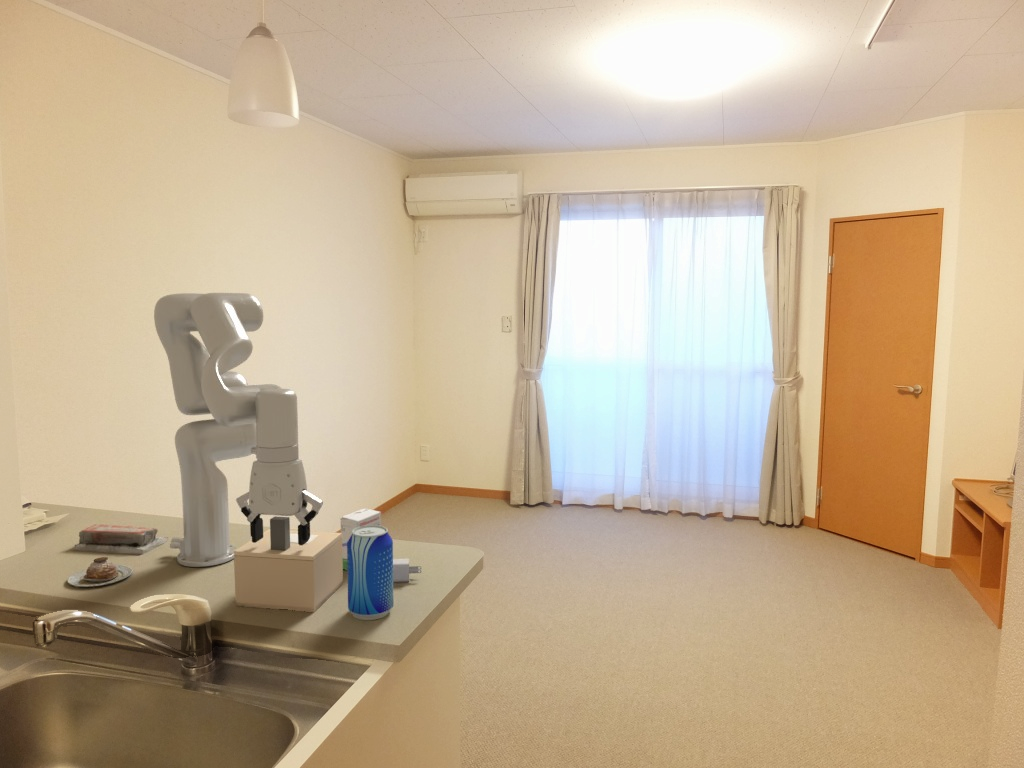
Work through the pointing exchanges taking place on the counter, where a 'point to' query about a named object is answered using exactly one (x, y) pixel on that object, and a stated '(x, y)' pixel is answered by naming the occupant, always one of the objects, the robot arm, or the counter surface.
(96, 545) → the packaged product
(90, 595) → the counter surface
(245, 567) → the carton
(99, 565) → the pastry
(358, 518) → the ink box
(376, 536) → the beer can
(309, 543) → the tan labeled panel
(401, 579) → the usb wall charger
